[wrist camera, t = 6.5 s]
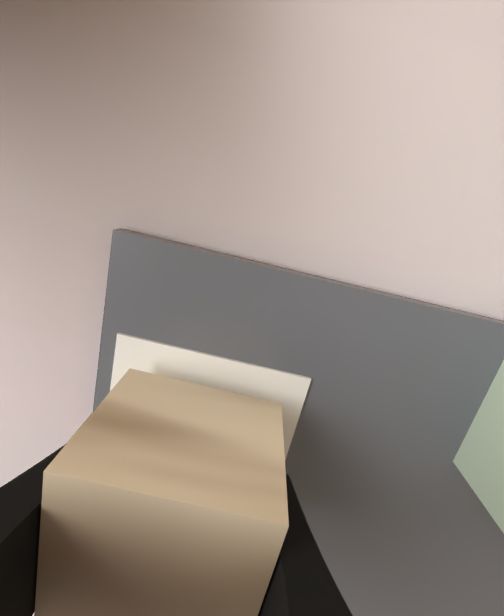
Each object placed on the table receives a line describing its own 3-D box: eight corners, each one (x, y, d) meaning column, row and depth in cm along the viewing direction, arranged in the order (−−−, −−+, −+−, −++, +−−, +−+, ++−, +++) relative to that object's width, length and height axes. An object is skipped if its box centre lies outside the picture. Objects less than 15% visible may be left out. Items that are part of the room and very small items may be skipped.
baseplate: (468, 670, 15) (476, 689, 14) (78, 586, 15) (70, 601, 14) (674, 362, 10) (697, 371, 10) (120, 228, 10) (111, 230, 10)
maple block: (247, 519, 11) (235, 678, 8) (112, 489, 11) (33, 635, 8) (281, 403, 10) (289, 525, 6) (129, 368, 10) (43, 471, 6)
